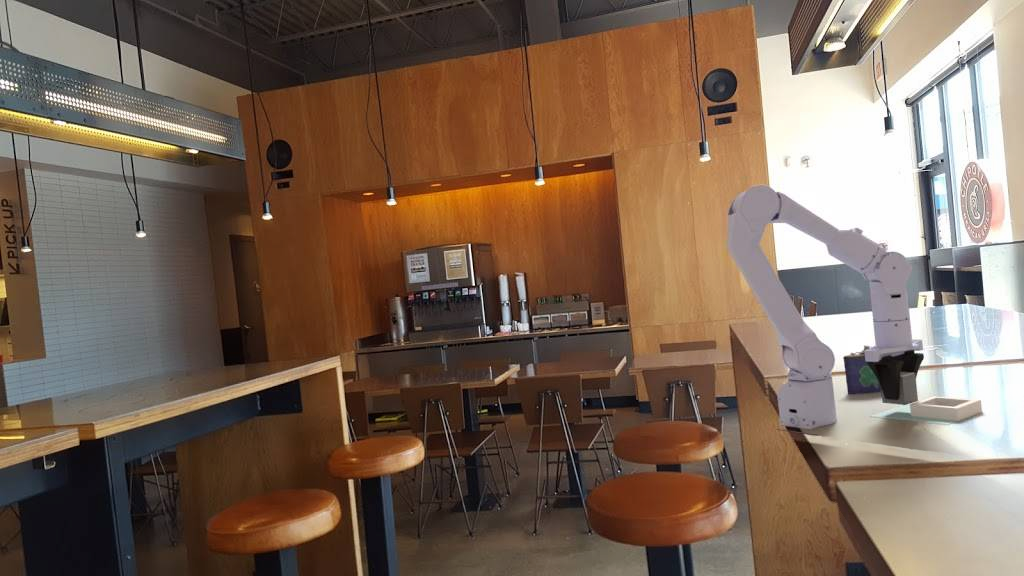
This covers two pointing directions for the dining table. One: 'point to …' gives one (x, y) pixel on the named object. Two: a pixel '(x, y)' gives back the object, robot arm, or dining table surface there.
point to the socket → (946, 408)
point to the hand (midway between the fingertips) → (899, 396)
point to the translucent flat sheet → (905, 414)
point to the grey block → (905, 390)
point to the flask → (860, 374)
